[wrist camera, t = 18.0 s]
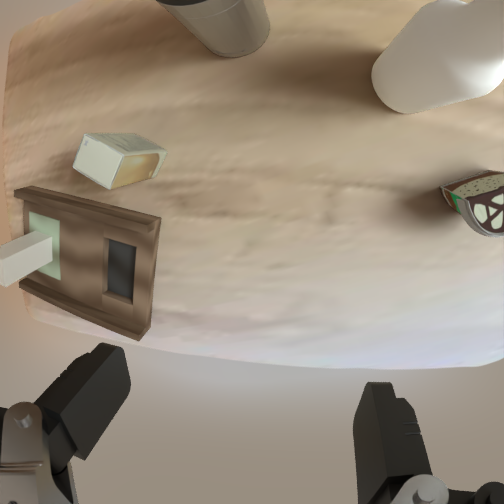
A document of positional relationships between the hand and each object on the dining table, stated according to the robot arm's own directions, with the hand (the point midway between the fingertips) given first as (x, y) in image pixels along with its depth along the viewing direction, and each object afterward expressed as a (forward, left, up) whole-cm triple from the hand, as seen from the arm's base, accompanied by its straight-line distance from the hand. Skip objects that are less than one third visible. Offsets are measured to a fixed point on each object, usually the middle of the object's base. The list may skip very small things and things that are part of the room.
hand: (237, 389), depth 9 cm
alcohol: (-18, +14, -33) cm, 40 cm away
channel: (+10, -32, -33) cm, 47 cm away
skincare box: (-6, -20, -33) cm, 39 cm away
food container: (-4, +26, -33) cm, 42 cm away
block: (+8, -41, -31) cm, 52 cm away
